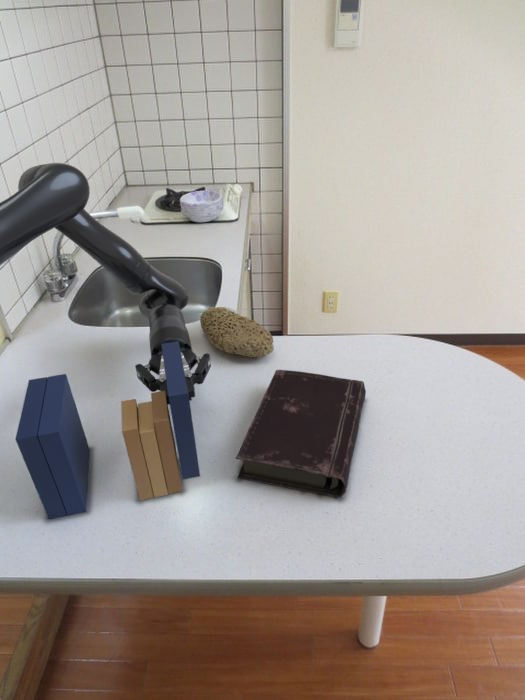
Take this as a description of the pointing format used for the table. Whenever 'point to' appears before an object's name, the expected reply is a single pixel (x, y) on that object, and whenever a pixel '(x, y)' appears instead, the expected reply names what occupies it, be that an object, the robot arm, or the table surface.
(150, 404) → the tan books
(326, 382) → the diary
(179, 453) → the navy book
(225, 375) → the table surface
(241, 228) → the table surface
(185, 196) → the paper bowls
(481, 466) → the table surface
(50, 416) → the navy book pair
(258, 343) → the sponge
